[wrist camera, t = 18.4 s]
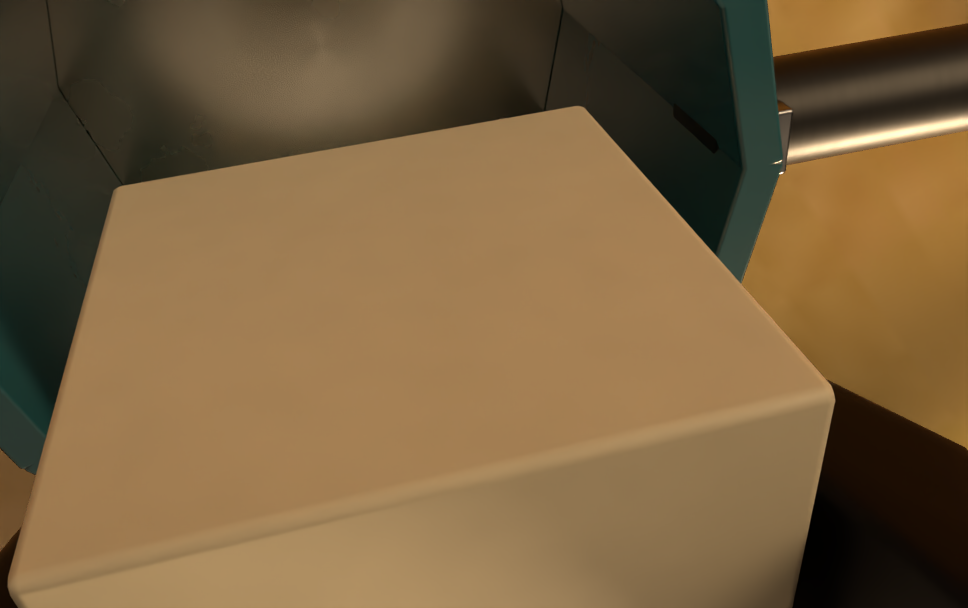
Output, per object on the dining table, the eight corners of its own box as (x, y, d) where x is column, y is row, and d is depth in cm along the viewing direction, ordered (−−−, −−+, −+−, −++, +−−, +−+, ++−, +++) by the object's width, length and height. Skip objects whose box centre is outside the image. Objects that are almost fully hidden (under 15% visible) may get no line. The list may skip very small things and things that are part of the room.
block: (583, 101, 8) (844, 390, 5) (588, 432, 11) (761, 782, 7) (110, 184, 8) (-3, 591, 4) (236, 514, 10) (232, 941, 7)
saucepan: (-105, -253, 13) (-460, -225, 7) (1109, -375, 17) (1718, -441, 10) (123, 309, 20) (62, 619, 13) (969, 145, 23) (1278, 324, 16)
